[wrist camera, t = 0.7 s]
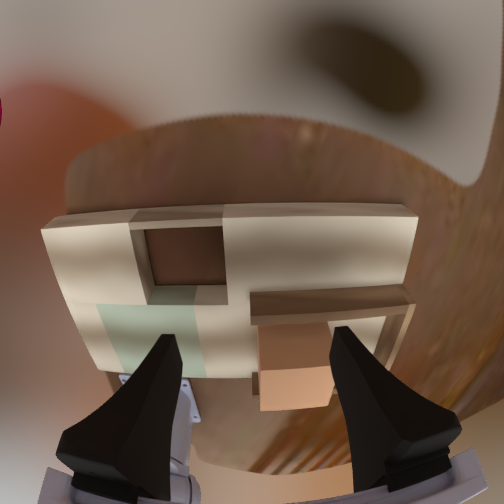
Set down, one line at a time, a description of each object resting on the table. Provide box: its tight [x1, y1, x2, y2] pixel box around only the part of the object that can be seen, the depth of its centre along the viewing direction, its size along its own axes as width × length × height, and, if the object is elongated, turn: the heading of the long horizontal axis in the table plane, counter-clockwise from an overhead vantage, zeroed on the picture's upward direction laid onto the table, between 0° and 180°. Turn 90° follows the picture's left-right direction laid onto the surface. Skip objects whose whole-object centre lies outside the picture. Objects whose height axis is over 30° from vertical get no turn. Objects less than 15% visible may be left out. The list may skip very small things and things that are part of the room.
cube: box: [257, 322, 335, 411], centre depth 20 cm, size 5×5×5 cm
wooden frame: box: [250, 284, 416, 400], centre depth 21 cm, size 10×12×2 cm
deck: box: [41, 202, 419, 378], centre depth 22 cm, size 15×26×2 cm, turn 91°
